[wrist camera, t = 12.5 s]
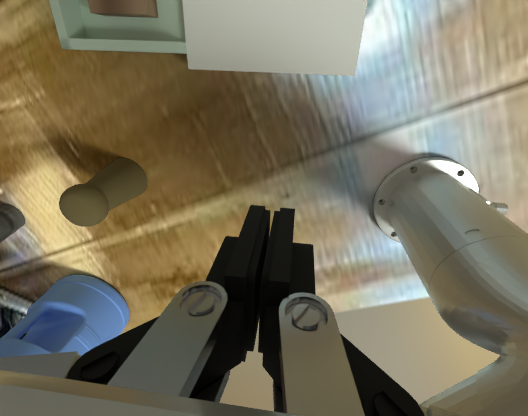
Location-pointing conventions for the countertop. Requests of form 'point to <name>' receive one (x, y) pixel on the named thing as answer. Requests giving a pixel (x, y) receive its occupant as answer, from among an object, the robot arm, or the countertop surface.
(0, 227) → the beverage cup
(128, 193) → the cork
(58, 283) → the water jug
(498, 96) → the countertop surface
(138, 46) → the box
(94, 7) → the walnut tile
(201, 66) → the white flat slab
